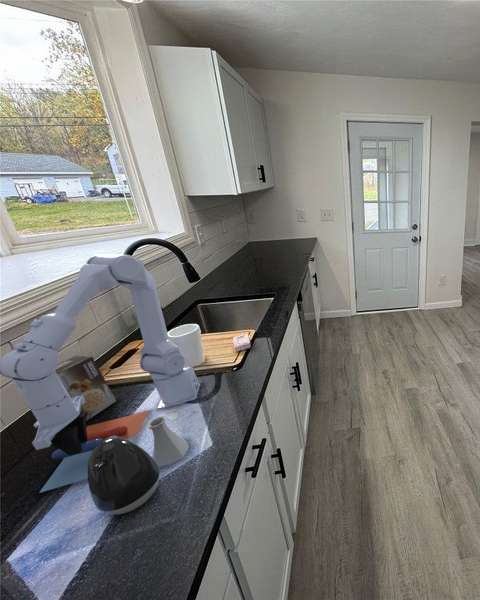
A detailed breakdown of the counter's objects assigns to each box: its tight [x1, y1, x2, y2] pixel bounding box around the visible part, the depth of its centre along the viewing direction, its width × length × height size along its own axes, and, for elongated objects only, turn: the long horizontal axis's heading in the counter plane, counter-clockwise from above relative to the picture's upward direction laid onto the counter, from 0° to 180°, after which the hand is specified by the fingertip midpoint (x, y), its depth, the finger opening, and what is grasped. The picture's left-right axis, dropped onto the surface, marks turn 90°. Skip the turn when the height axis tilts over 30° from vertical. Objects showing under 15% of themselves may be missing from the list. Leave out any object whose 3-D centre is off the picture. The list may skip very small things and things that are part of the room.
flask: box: [147, 416, 190, 468], centre depth 72 cm, size 7×7×10 cm
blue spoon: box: [51, 436, 119, 461], centre depth 71 cm, size 12×4×2 cm, turn 112°
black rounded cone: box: [87, 437, 161, 515], centre depth 61 cm, size 10×10×15 cm
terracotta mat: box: [86, 410, 150, 440], centre depth 82 cm, size 14×10×1 cm
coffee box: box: [54, 355, 117, 422], centre depth 86 cm, size 9×6×16 cm
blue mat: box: [38, 436, 137, 494], centre depth 72 cm, size 14×10×1 cm
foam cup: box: [167, 323, 206, 368], centre depth 108 cm, size 10×9×13 cm
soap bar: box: [232, 333, 252, 352], centre depth 120 cm, size 5×9×2 cm, turn 29°
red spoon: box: [87, 425, 127, 441], centre depth 78 cm, size 12×4×2 cm, turn 112°
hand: (78, 448), depth 71 cm, fingers closed on blue spoon, 2 cm apart
